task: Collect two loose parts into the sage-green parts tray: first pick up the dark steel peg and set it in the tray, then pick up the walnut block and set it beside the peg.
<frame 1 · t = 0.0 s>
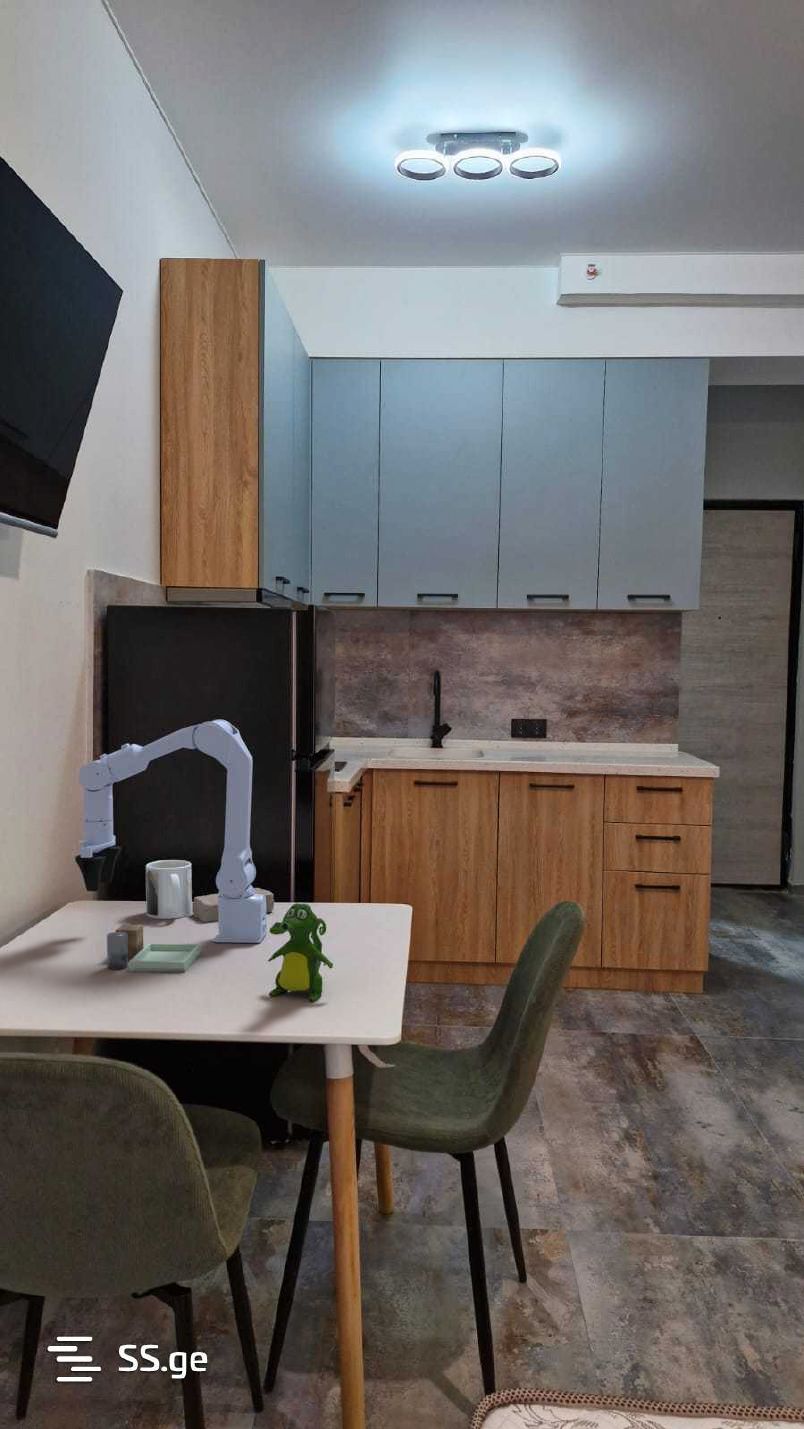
hand: (99, 886, 203), 10 cm above the table, fingers open, 7 cm apart
peg: (117, 967, 183), on the table
block: (129, 956, 190), on the table
mug: (168, 915, 221), on the table
toy: (301, 993, 169), on the table
brick: (233, 915, 223), on the table
tray: (166, 961, 186), on the table
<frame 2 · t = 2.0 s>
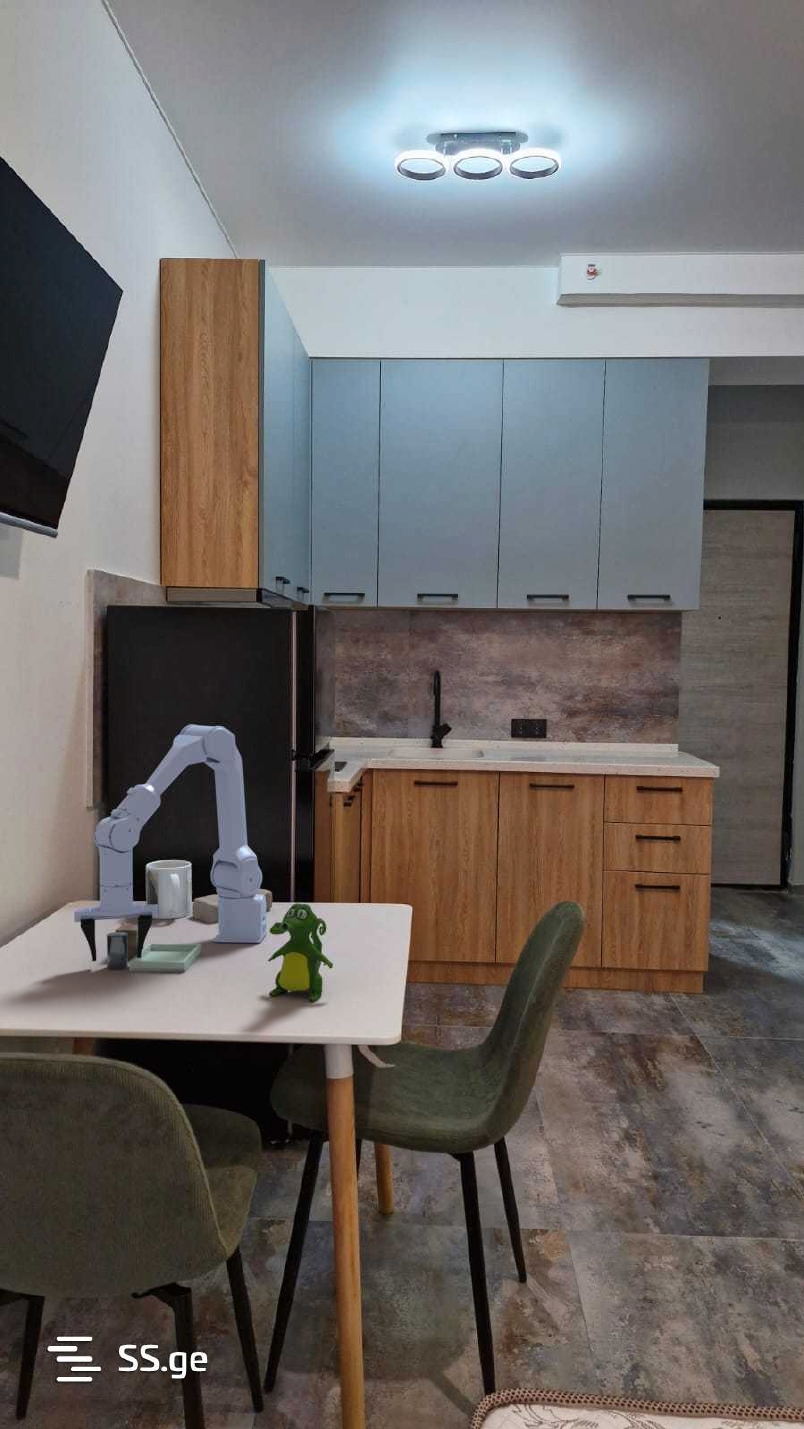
hand: (116, 958, 183), 2 cm above the table, fingers open, 7 cm apart
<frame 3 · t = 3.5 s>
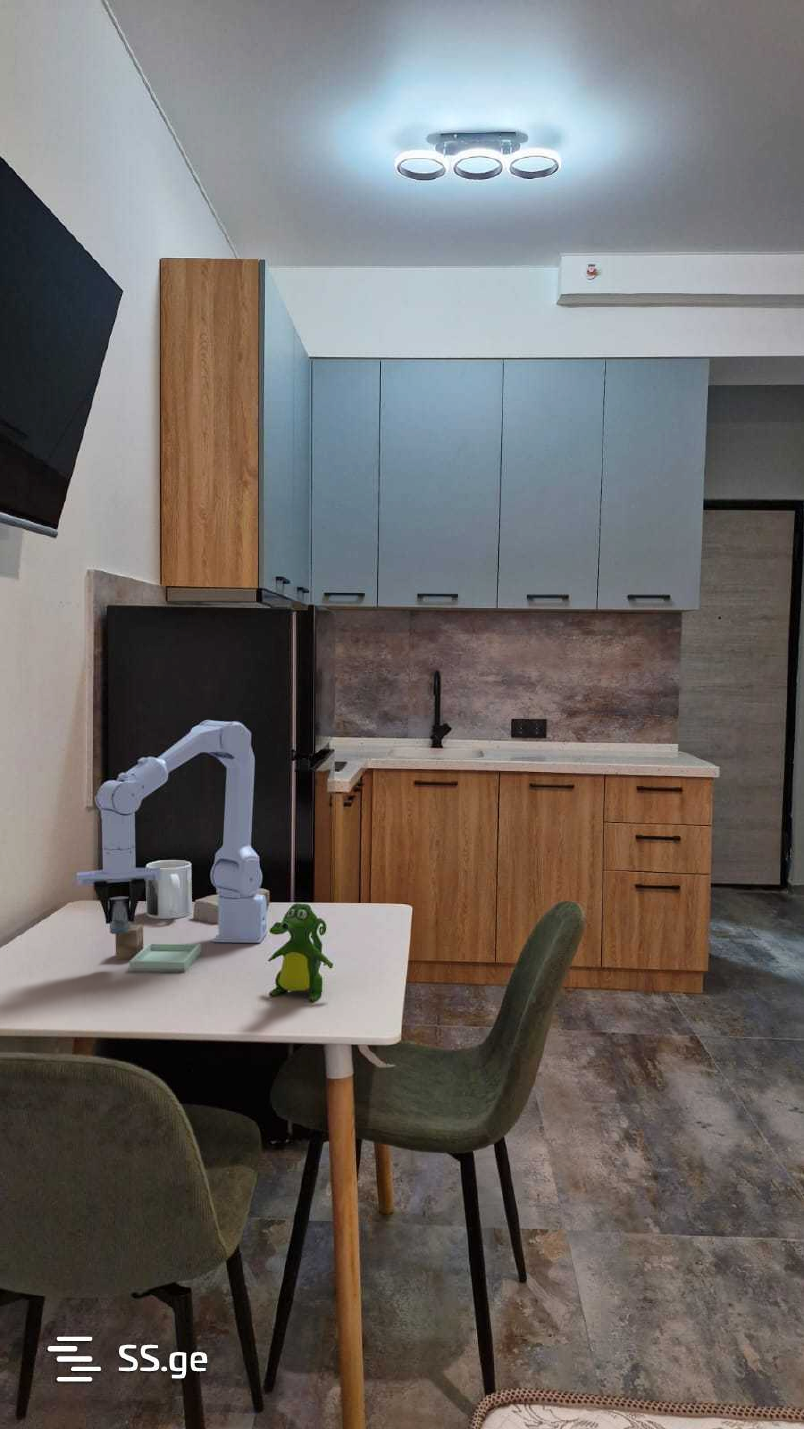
hand: (119, 921, 183), 8 cm above the table, fingers closed on peg, 3 cm apart
peg: (120, 931, 183), point 7 cm above the table, touching gripper
when the fingers open (3 cm above the table, at t = 5.2 s): peg stays where it is, resting on tray.
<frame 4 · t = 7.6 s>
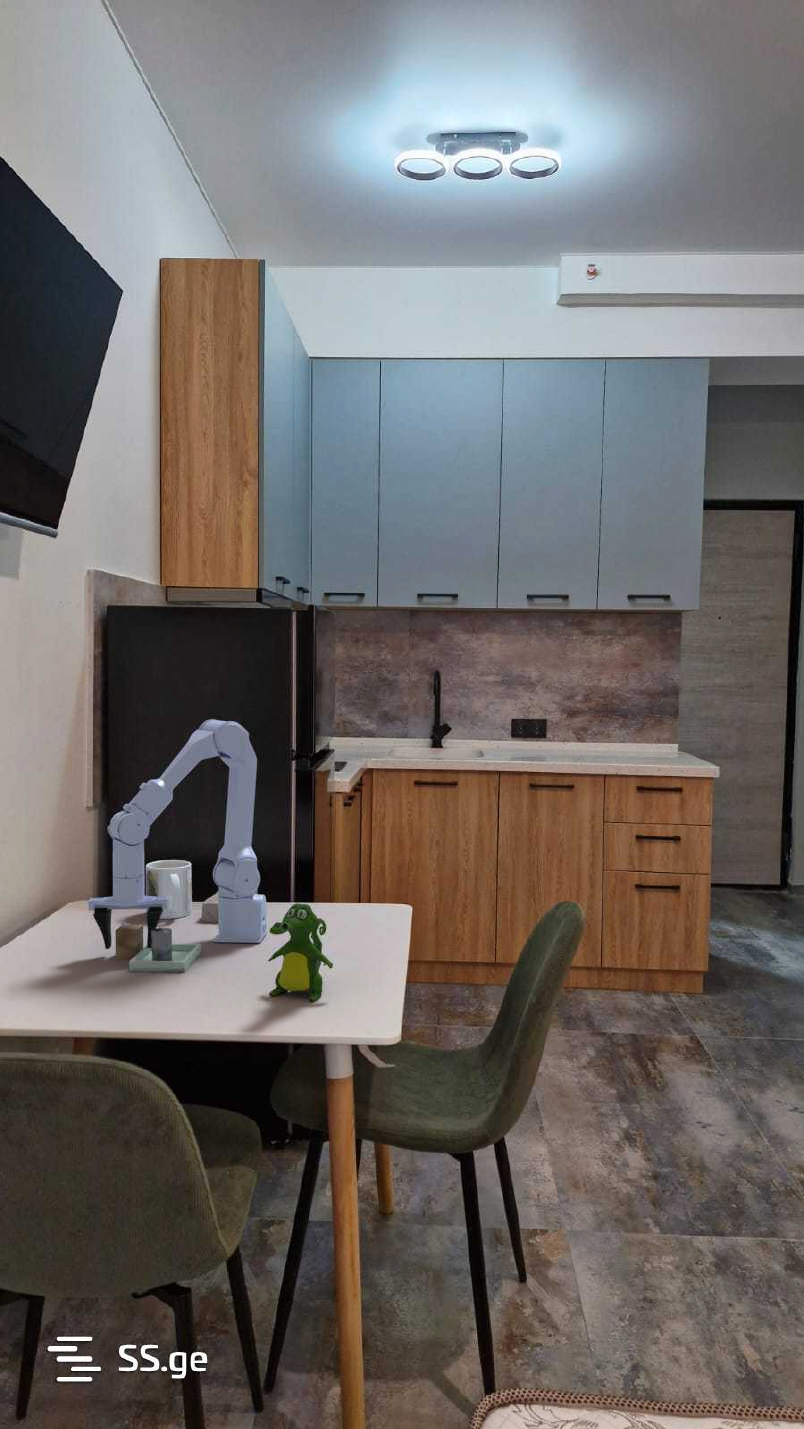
hand: (129, 947, 190), 2 cm above the table, fingers open, 7 cm apart
peg: (162, 962, 183), point 1 cm above the table, touching tray
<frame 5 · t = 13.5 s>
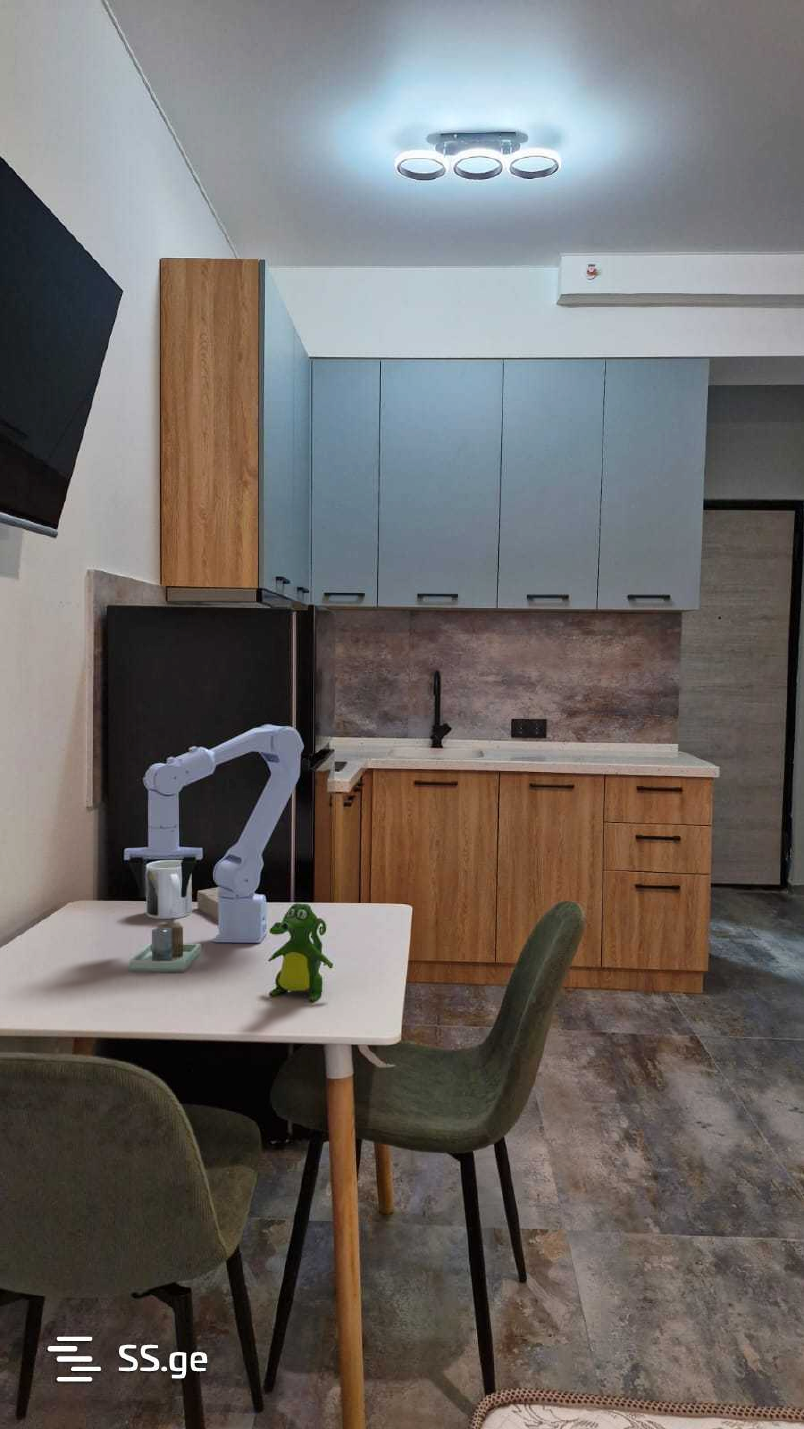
hand: (163, 896, 194), 10 cm above the table, fingers open, 7 cm apart
block: (170, 954, 189), point 1 cm above the table, touching tray
at the end: peg inside the target area on the tray (2.7 cm from its centre), point 0.6 cm above the tray's base; block inside the target area on the tray (2.6 cm from its centre), point 0.6 cm above the tray's base; peg tilted 1° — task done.
